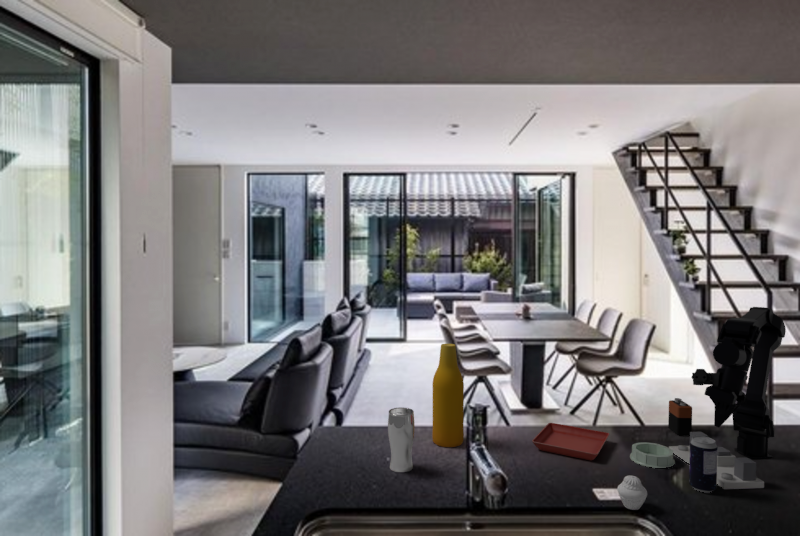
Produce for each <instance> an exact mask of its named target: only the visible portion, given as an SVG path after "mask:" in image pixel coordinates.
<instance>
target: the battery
mask: <svg viewBox="0 0 800 536" xmlns="http://www.w3.org/2000/svg"><path fill="white" fill-rule="evenodd" d="M667 426H668V429H669V430H670V431H671V432H673V433H674V434H675V435H677V436H678V435H690V432H693V431H692V429H693V428H692V427H693V407H692V405H690V404H688V403H687V402H685V401H683V400H682V398H678V397H677V398H676V397H674V399H673V400H671V399H670V400H669V401H668V424H667Z"/></svg>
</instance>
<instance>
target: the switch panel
mask: <svg viewBox="0 0 800 536" xmlns="http://www.w3.org/2000/svg"><path fill="white" fill-rule="evenodd" d="M694 436H704V437H709V435H707V434H706V433H704V432H702V431H692V432H690V436H689V443H690V442H691V440H692V437H694ZM668 448H670V449H671V450H673V453H674V454H675V455H677V456H678V457H680V458H681V459H683V460H684V461H685V462H687V463H689V464H690V445H684V444H680V445H679V444H678V445H672V446H671V445H669V446H668ZM675 455H674V456H675ZM678 457H677V458H678ZM681 459H680V460H681ZM684 461H683V462H684ZM685 462H684V463H685ZM717 484H718V485H717V486H718V487H720V488H721V487H722V489H723V490H739V489H740V490H741V489H743V490H744V489H764V488H765V481H764V480H762V479H760V478H758V476H757V462H756V461H754V460H753V459H750V458H748V457H746V456H744V457H736V455H734V454H732V453H731V456H717Z"/></svg>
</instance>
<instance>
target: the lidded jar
mask: <svg viewBox="0 0 800 536" xmlns="http://www.w3.org/2000/svg"><path fill="white" fill-rule="evenodd" d="M617 493H618V496H619V498H620V501H621V502H622V504H623V506H624V507H625V508H626V509H628V510H631V511H638V510H640V509H641V507H642V506H643V504H644V503H645V501H646V498H647V497H648V491H647V489H646V487H644V485H643V484H642V480H641V479H640V478H639V477H638V476H635V475H626V476H624V477H623V480H622V482H621V483H620V484H618V485H617Z"/></svg>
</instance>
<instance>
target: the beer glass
mask: <svg viewBox="0 0 800 536" xmlns="http://www.w3.org/2000/svg"><path fill="white" fill-rule="evenodd" d="M414 412H415V411H414V409H411V408H409V407H394V408H391V409H389V410H388V418H387V419H388V420H387V435H388V442H389V447H390V463H389V469H390V470H391V471H392V472H395V473H408V472H410V471H412V469H414V466H413V459H412V451H413V450H412V449H413V444H414V438H415V413H414Z"/></svg>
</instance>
